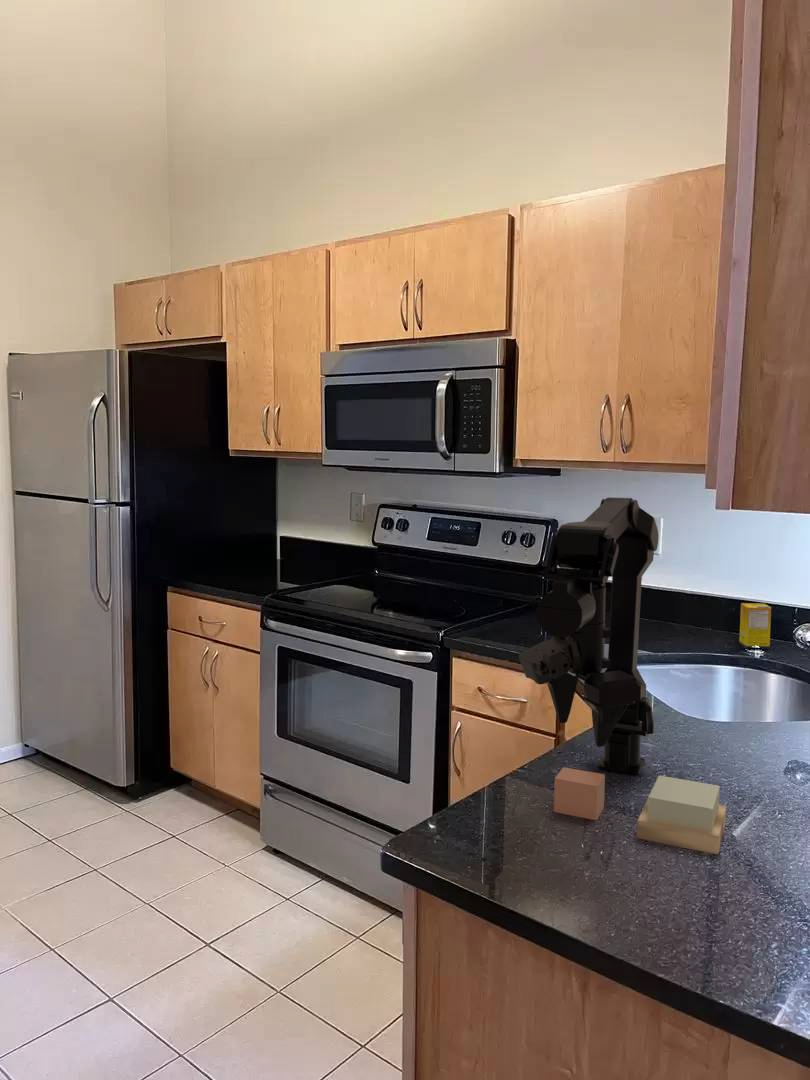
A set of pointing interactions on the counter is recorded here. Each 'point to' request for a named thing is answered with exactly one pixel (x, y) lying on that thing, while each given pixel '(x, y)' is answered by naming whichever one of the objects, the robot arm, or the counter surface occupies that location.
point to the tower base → (683, 832)
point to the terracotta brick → (579, 793)
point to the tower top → (684, 803)
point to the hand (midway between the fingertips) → (580, 733)
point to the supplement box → (755, 625)
